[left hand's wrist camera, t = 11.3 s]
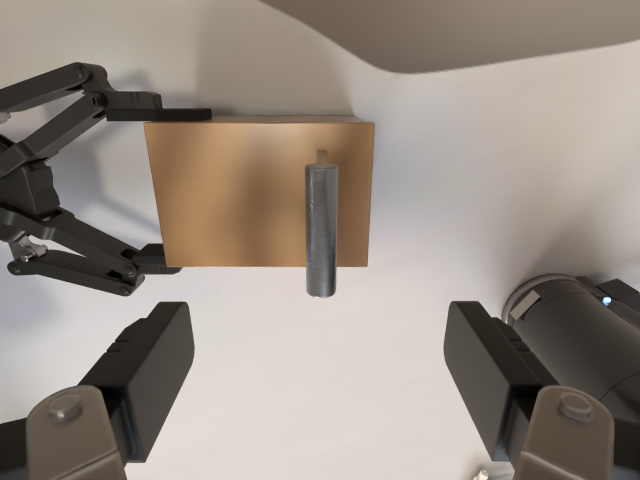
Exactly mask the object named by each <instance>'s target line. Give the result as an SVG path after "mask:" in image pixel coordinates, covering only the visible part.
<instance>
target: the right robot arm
mask: <svg viewBox="0 0 640 480" xmlns="http://www.w3.org/2000/svg"><path fill="white" fill-rule="evenodd" d="M81 90H84V92H82V94H86V95H85V96H83V97H82V98H81V99H79V100H78V101H76V102H75V103H74V104H72V105H71V106H70V107H68V108H67V109H66V110H64V111H63V112H61V113H60V114H59V115H57V116H56V117H55V118H53V119H52V120H51V121H49V122H48V123H47V124H45V125H44V126H42V127H41V128H40V129H38V130H37V131H36V132H34V133H33V134H32V135H30V136H29V137H27V138H26V139H25V140H23V141H21V142H18V143H15V142H13V141H12V140H10V139H8V138H7V137H5V136H3V135H2V134H0V240H1V241H4V242H8V244H9V246H10V249H11V252H12V254H13V257H14V261H12V262H10V263H9V264H8V265H7V268H8V270H9V272H10V273H11V274H13V275H37V274H38V275H42V276H46V277H50V278H54V279H58V280H62V281H66V282H70V283H73V284H77V285H81V286H85V287H89V288H93V289H97V290H101V291H105V292H109V293H113V294H117V295H121V296H126V297H127V296H130V295H131V294H132V293H133V292H134V291H135V290H136V289H137V288H138V287H139V286H140V285H141V284H142V282H143V281H144V280H145V276H144V274H176V273H178V272H180V270H181V269H182V268H183V267H167V265H166V259H165V253H164V247H163V244H147V245H146V246H145V247H144V248H142V249H141V250H138V249H136V248H134V247H132V246H130V245H128V244H126V243H124V242H122V241H120V240H118V239H116V238H114V237H112V236H110V235H108V234H106V233H104V232H102V231H100V230H98V229H96V228H94V227H92V226H90V225H88V224H86V223H84V222H82V221H80V220H78V219H76V218H75V217H74V214H73V213H71V212H69V211H67V210H65V209H63V208H61V207H59V206H58V205H60V202H59V198H58V195H57V193H56V191H55V189H54V187H53V175H52V171H51V167H50V166H46V164H45V162H46V161H47V160H49V159H50V158H52V157H53V156H54V155H56V154H57V153H58V152H59V150H60V149H61V148H63V147H64V146H66V145H67V144H68V143H70V142H71V141H73V140H74V139H75V138H77V137H78V136H80V135H81V134H82V133H84V132H85V131H87V130H88V129H89V128H91V127H92V126H94V125H95V124H97V123H98V122H99V121H101V120H102V119H104V118H105V117H106V118H107V121H203V120H208V119H212V114H211V109H163V107H162V100H161V95H160V94H157V93H155V92H119V91H116V90H114V89H113V88H112V87H111V86H110V84H109V82H108V80H107V72H106V70H105V69H104V68H103V67H102V66H99V65H94V64H87V63H80V62H75V63H72V64H69V65H66V66H64V67H61V68H58V69H55V70H53V71H50V72H47V73H44V74H41V75H39V76H36V77H33V78H30V79H28V80H25V81H22V82H19V83H17V84H14V85H11V86H8V87H5V88H3V89H0V124H3V123H6V122H7V120H8V119H9V118H11V114H10V112H19V111H24V110H27V109H30V108H33V107H36V106H39V105H42V104H44V103H47V102H50V101H53V100H56V99H59V98H61V97H64V96H67V95H70V94H73V93H76V92H79V91H81ZM30 235H32V236H35V237H37V238H39V239H42V240H52V241H54V242H56V243H58V244H61V245H63V246H65V247H67V248H69V249H71V250H73V251H75V252H77V253H79V254H81V255H83V256H86V257H83V256H79V255H76V254H72V253H68V252H64V251H60V250H48V247H47V246H46V245H38V244H34V243H32V242H31V241H30V240H29V238H28V236H30ZM87 257H88V258H87Z"/></svg>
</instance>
